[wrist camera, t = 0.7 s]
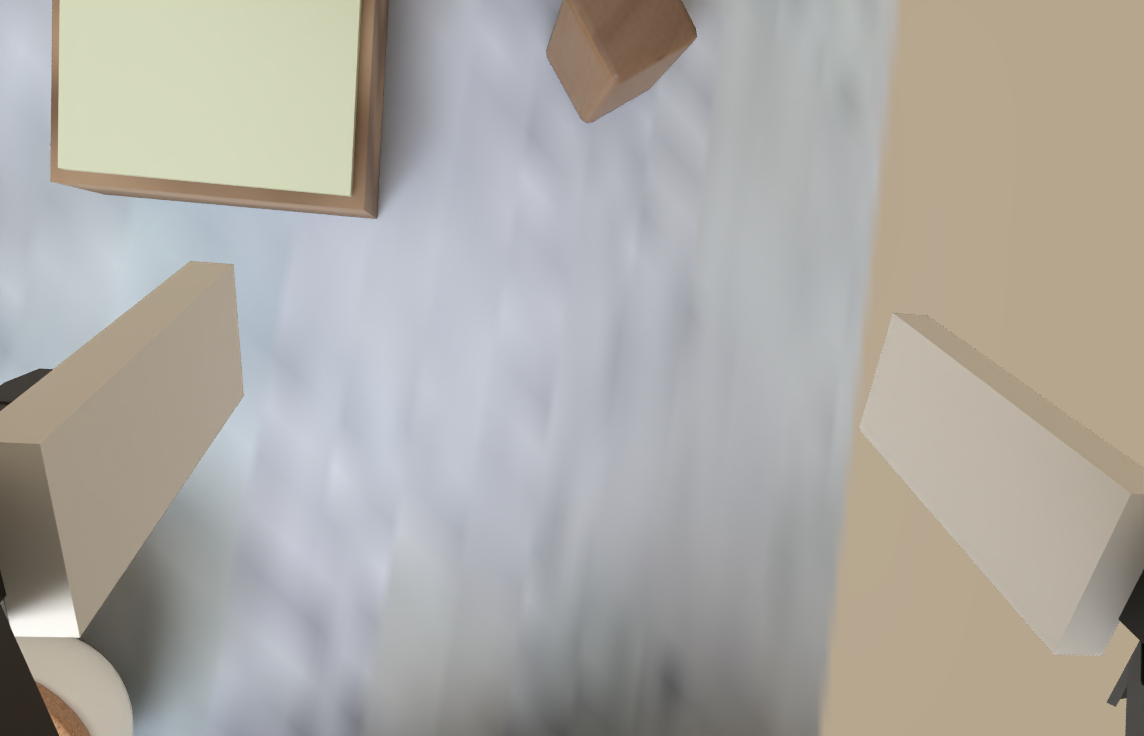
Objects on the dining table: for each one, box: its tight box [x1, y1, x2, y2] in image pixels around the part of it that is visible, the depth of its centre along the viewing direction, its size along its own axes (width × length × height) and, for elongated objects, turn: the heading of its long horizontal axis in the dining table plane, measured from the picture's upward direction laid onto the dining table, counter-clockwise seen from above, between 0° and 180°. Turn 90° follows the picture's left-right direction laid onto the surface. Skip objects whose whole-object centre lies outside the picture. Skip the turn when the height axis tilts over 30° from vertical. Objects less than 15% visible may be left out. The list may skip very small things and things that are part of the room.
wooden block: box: [546, 0, 697, 123], centre depth 33 cm, size 4×4×8 cm
